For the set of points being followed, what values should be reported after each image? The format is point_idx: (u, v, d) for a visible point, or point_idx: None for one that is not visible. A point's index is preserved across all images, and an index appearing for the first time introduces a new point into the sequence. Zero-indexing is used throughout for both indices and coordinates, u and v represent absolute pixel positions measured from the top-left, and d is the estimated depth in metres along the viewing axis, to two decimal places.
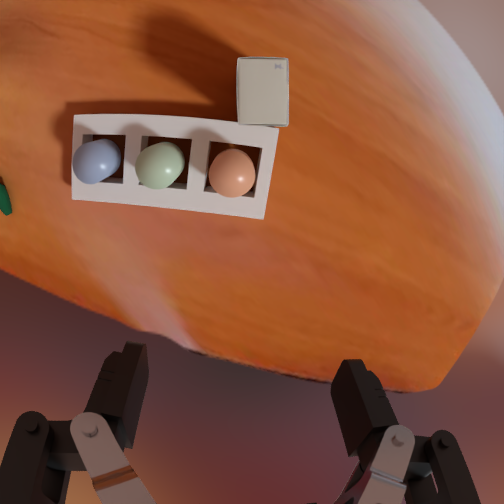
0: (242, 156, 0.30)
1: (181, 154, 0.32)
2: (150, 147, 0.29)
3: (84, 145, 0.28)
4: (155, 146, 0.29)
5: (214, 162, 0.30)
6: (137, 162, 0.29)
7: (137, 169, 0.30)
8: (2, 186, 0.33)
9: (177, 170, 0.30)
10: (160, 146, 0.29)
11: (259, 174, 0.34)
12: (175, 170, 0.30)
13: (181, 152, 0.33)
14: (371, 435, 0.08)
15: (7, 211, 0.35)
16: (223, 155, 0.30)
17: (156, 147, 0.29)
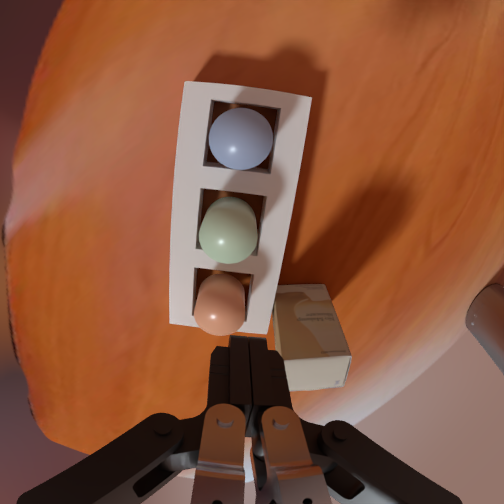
0: (240, 325, 0.29)
1: None
2: (255, 230, 0.25)
3: (269, 132, 0.21)
4: (255, 237, 0.25)
5: (233, 300, 0.27)
6: (236, 212, 0.24)
7: (226, 212, 0.24)
8: None
9: (223, 262, 0.26)
10: (255, 243, 0.25)
11: None
12: (223, 259, 0.26)
13: None
14: (257, 414, 0.09)
15: None
16: (241, 308, 0.28)
17: (254, 238, 0.25)
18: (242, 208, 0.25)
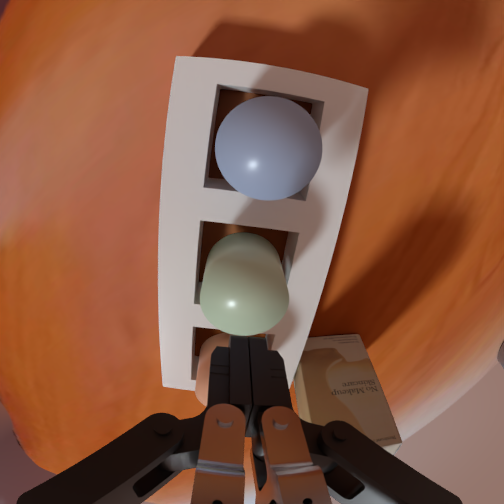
0: None
1: None
2: (285, 292, 0.16)
3: (317, 139, 0.13)
4: (286, 301, 0.16)
5: None
6: (258, 267, 0.15)
7: (242, 267, 0.15)
8: None
9: (237, 333, 0.17)
10: (285, 309, 0.16)
11: None
12: (236, 331, 0.17)
13: None
14: (257, 414, 0.09)
15: None
16: None
17: (284, 302, 0.16)
18: (266, 256, 0.16)
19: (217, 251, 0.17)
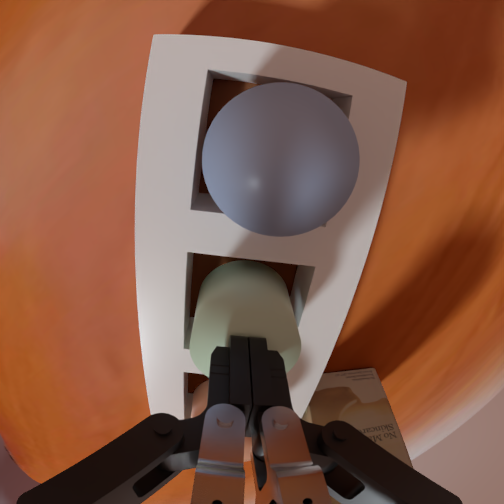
0: None
1: None
2: (297, 341, 0.12)
3: (352, 149, 0.09)
4: (297, 350, 0.13)
5: None
6: (263, 313, 0.12)
7: (243, 313, 0.12)
8: None
9: None
10: (295, 359, 0.13)
11: None
12: None
13: None
14: (258, 414, 0.09)
15: None
16: None
17: (294, 352, 0.13)
18: (272, 296, 0.13)
19: (211, 286, 0.14)
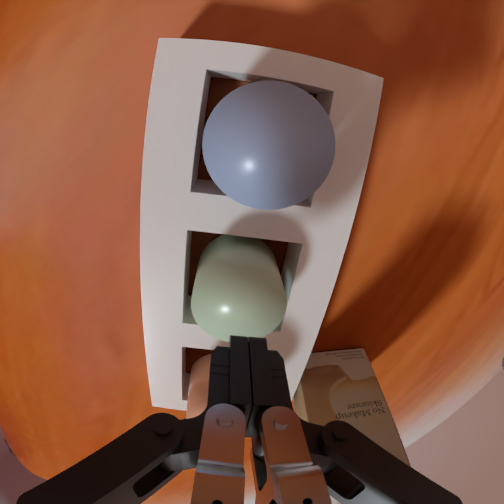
0: None
1: None
2: (283, 297, 0.15)
3: (329, 135, 0.10)
4: (283, 306, 0.15)
5: None
6: (253, 271, 0.14)
7: (236, 270, 0.14)
8: None
9: None
10: (282, 314, 0.15)
11: None
12: None
13: None
14: (258, 414, 0.09)
15: None
16: None
17: (281, 308, 0.15)
18: (261, 259, 0.15)
19: (209, 253, 0.16)
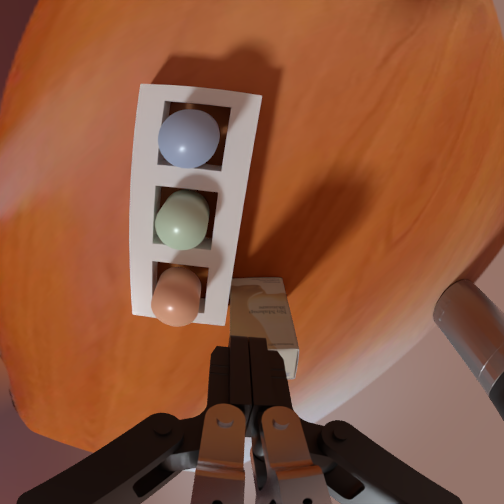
0: (195, 316, 0.30)
1: None
2: (204, 220, 0.27)
3: (214, 132, 0.22)
4: (205, 225, 0.27)
5: (186, 292, 0.28)
6: (187, 203, 0.26)
7: (178, 203, 0.26)
8: None
9: (177, 248, 0.28)
10: (205, 231, 0.27)
11: None
12: (177, 246, 0.28)
13: None
14: (258, 414, 0.09)
15: None
16: (194, 300, 0.29)
17: (204, 226, 0.27)
18: (194, 199, 0.27)
19: (168, 199, 0.28)
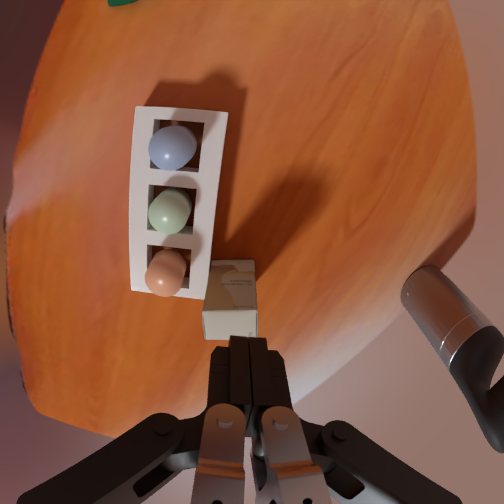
0: (179, 288, 0.37)
1: None
2: (185, 210, 0.34)
3: (189, 143, 0.30)
4: (186, 214, 0.35)
5: (172, 267, 0.36)
6: (171, 197, 0.34)
7: (165, 197, 0.34)
8: None
9: (165, 233, 0.36)
10: (186, 219, 0.35)
11: None
12: (165, 231, 0.35)
13: None
14: (258, 414, 0.09)
15: (111, 3, 0.25)
16: (178, 274, 0.36)
17: (185, 215, 0.35)
18: (177, 195, 0.35)
19: (158, 195, 0.36)
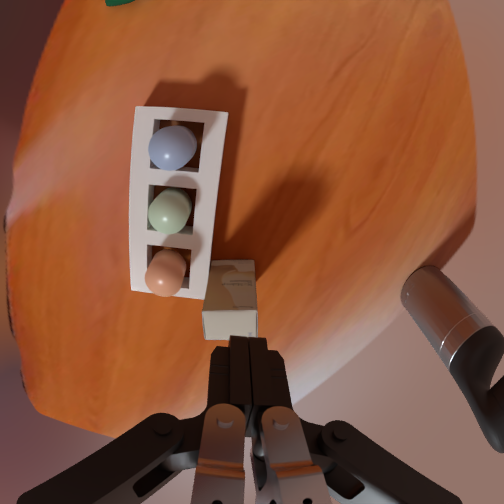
0: (179, 288, 0.37)
1: None
2: (185, 210, 0.34)
3: (189, 143, 0.30)
4: (186, 214, 0.35)
5: (172, 267, 0.36)
6: (171, 197, 0.34)
7: (165, 197, 0.34)
8: None
9: (165, 233, 0.36)
10: (186, 219, 0.35)
11: None
12: (165, 231, 0.35)
13: None
14: (258, 414, 0.09)
15: (109, 3, 0.25)
16: (178, 274, 0.36)
17: (185, 215, 0.35)
18: (177, 195, 0.35)
19: (158, 195, 0.36)
